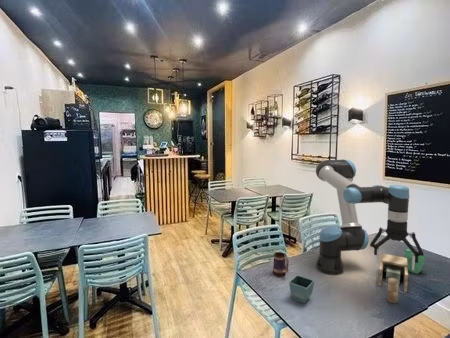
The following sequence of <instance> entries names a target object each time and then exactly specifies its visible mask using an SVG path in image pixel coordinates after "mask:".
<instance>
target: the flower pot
mask: <svg viewBox="0 0 450 338" xmlns="http://www.w3.org/2000/svg"><path fill="white" fill-rule="evenodd" d="M288 284H289V290H290V291H289V292H290V295H291V297H292V299H294V301H297V302H300V303H301V304H305V303H306V302H307V301H308V300H309V299H310V297H311V295H312V293H313V291H314V286H315V285H314V284H315V280H313V279H310V278H308V277H306V276H305V277H304V276H301V275H299V274H297V275H295V276H293V277H292V279H290V281H289V283H288Z"/></svg>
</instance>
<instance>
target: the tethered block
mask: <svg viewBox="0 0 450 338" xmlns="http://www.w3.org/2000/svg"><path fill="white" fill-rule="evenodd" d="M385 274H386V275H385V283H387V295H386V296H387V297H386V300H387V301H388V302H389V303H392V304H397V303H398V296H399V286H400V283H401V281H400V280H401V275H400V269H397V268H392V267H388V266H387V271H386V272H385Z"/></svg>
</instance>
